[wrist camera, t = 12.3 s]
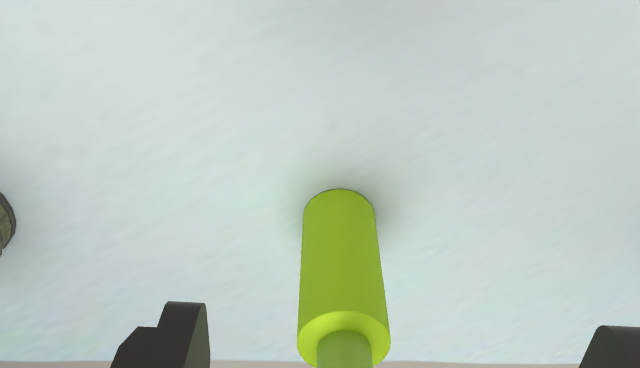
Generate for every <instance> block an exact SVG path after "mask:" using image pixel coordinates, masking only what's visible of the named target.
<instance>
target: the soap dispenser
mask: <svg viewBox="0 0 640 368" xmlns="http://www.w3.org/2000/svg"><path fill="white" fill-rule="evenodd" d="M390 344H391V339H390V331H389V323H388V315H387V307H386V300H385V292H384V284H383V277H382V269H381V261H380V253H379V246H378V238H377V230H376V222H375V215H374V210H373V208H372V206H371V204H370V203H369V201H368V200H367V199H366V198H364V197H363V196H362V195H360V194H358V193H356V192H354V191H350V190H345V189H334V190H328V191H325V192H323V193H320V194H319V195H317V196H315V197H314V198H313V199H312V200H311V201H310V202H309V203H308V205H307V206H306V208H305V211H304V215H303V231H302V251H301V271H300V291H299V311H298V330H297V348H298V351H299V353H300V355H301V356H302V358H303V359H304V360H305V361H306V362H307V363H308V364H310V365H311V366H313V367H315V368H373V367H374V366H375V365H377V364H378V363H380V362H381V361H382V360H383V359H384V358H385V356H386V355H387V353H388V351H389V349H390Z"/></svg>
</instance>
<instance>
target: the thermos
mask: <svg viewBox="0 0 640 368" xmlns="http://www.w3.org/2000/svg"><path fill="white" fill-rule="evenodd" d="M15 227H16V219H15V216H14V213H13V210H12V207H11V206H10V205H9V203H8V202H7V200H6V199H5V197H4V196H3V195H2V194H1V193H0V256H1V255H2V249H4V248H5V247H6V246H7V244H8V243H9V241H10V240H11V238H12V237H13V235H14V234H15Z"/></svg>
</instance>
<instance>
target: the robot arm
mask: <svg viewBox="0 0 640 368" xmlns="http://www.w3.org/2000/svg"><path fill="white" fill-rule="evenodd" d="M110 368H210V346H209V335H208V323H207V312H206V305H205V303H192V302H173V301H168V302H167V303H166V305H165V306H164V309H163V312H162V314H161V317H160V320H159V323H158V326H157V327H137V328H136V329H135V330H134V331H133V332H132V333H131V334H130V336H129V337H128V338H127V339H126V340H125V341H124V342H123V343H122V344H121V345H120V346H119V348H118V350H117V353H116V355H115V357H114V360H113V362H112V364H111V367H110ZM579 368H640V327H624V326H605V325H602V326H600V327H598V328H597V330H596V331H595V333H594V336H593V338H592V340H591V342H590V344H589V346H588V349H587V351H586V353H585V355H584V357H583V360H582V362H581V364H580V366H579Z"/></svg>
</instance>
